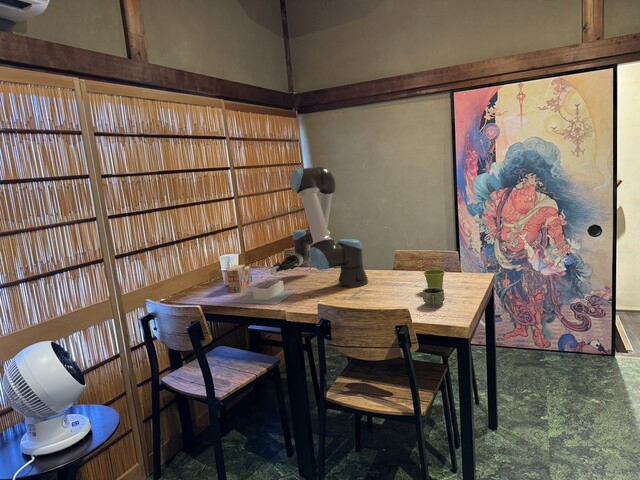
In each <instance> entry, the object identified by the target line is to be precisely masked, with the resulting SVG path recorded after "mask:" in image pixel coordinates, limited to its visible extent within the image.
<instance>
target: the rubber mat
mask: <svg viewBox="0 0 640 480" xmlns="http://www.w3.org/2000/svg"><path fill="white" fill-rule="evenodd" d="M294 293H295V294H296V293H298V291H295V290H284V291H282V292H280V293H278V294H277V295H275V296H273V297H272V298H270V299H268V300H259V299H254V297H253V291H252V292H250V293H248V294H247V295H245V296H242V297H241V298H239V299H237V300H235V301H234V302H233V303H234V304H252V303H261V304H260V305H272V304H277V305H279V304H280V303H282V302H284V301H285V300H287V299H288V298H290V297H291V296H293V295H295V294H294ZM286 298H287V299H286ZM281 301H282V302H281ZM278 303H279V304H278Z"/></svg>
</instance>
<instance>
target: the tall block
mask: <svg viewBox="0 0 640 480" xmlns="http://www.w3.org/2000/svg"><path fill="white" fill-rule="evenodd" d="M284 286H285V285H284V281H283V280H268V281H266V282H264V283H262V284H261V285H259V286H256V287H254V288H252V292H253V297H254V299H259V300H268V299H270V298H272V297H273V296H275V295H277V294H278V293H280V292H282V291H285V287H284Z"/></svg>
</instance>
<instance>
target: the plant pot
mask: <svg viewBox="0 0 640 480" xmlns="http://www.w3.org/2000/svg"><path fill="white" fill-rule="evenodd" d="M445 273H446V271H445V270H444V269H436V268H435V269H428V270H424V272H423V275H424V277H425V280H426V285H427V288H430V287H437V288H442V289H443V286H444V284H443V283H444V276H445Z"/></svg>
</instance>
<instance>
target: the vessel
mask: <svg viewBox="0 0 640 480" xmlns="http://www.w3.org/2000/svg"><path fill="white" fill-rule="evenodd" d="M445 299H446V297H445V289H444V288H443V287H442V288H437V287H430V288H428V287H426V288H423V289H422V301H423V302H424V306H425V307H427V308H431V309H432V308H439V307H442V306H444V305H445V304H444V301H445Z"/></svg>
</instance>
